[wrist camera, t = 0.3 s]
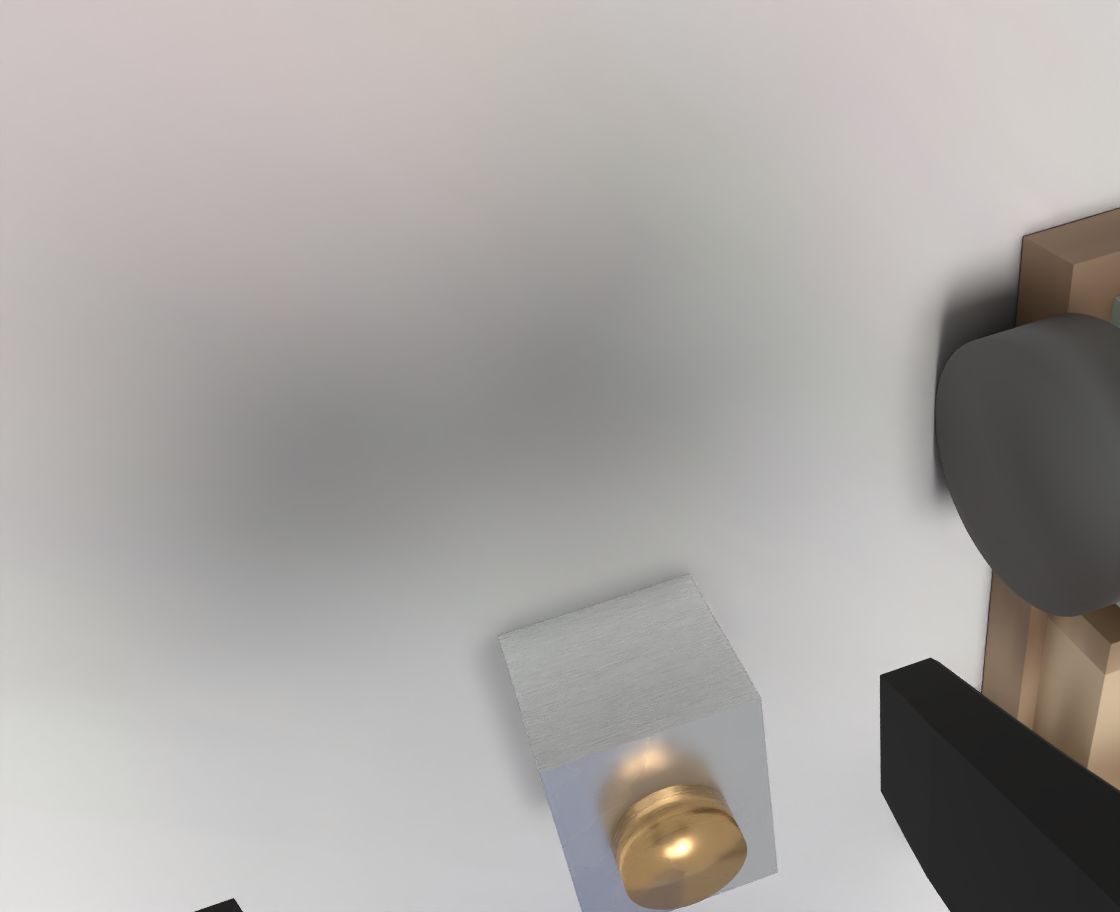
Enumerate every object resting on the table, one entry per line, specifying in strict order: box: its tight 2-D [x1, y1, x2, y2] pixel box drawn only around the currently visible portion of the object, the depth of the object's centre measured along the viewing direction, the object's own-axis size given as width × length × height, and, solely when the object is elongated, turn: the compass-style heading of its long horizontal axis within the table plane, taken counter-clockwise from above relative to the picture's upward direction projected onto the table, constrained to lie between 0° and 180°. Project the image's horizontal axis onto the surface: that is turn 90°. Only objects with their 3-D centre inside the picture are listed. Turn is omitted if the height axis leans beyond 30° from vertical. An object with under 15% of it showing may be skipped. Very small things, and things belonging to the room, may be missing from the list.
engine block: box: [498, 574, 778, 912], centre depth 22 cm, size 6×4×5 cm
